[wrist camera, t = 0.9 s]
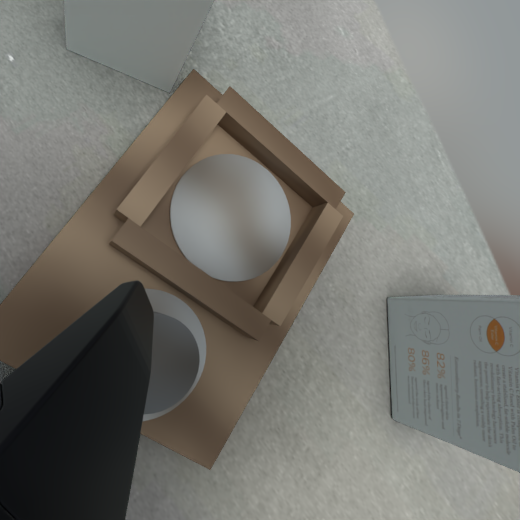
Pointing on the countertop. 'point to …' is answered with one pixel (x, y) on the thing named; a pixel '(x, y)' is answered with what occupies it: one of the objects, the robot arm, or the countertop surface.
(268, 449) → the countertop surface
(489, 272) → the countertop surface
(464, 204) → the countertop surface
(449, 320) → the small box
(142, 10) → the tall white box
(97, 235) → the wooden holder board
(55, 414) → the robot arm
